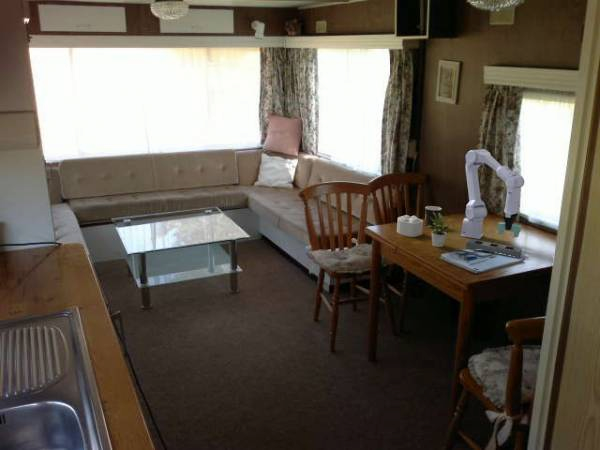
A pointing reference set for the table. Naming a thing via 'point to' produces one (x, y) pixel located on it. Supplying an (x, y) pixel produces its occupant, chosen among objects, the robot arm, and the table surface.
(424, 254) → the table surface
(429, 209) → the coffee mug
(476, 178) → the robot arm
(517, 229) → the teal rectangular block
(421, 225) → the lumpy-topped squat cylinder
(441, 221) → the house plant
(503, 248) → the rail
